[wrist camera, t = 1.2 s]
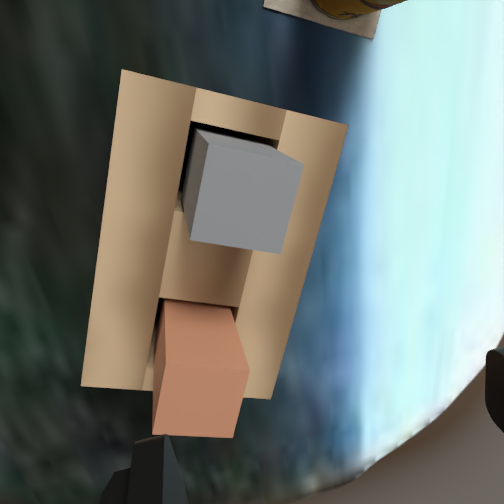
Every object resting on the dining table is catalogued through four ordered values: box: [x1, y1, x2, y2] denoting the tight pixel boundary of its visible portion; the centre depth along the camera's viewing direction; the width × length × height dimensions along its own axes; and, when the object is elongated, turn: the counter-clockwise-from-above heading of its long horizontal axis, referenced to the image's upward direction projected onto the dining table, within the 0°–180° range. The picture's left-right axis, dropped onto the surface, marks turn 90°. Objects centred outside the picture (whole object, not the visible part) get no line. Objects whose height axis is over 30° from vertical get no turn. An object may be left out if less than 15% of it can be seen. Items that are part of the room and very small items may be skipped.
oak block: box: [81, 69, 349, 399], centre depth 30 cm, size 12×18×10 cm, turn 167°
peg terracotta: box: [152, 298, 250, 438], centre depth 25 cm, size 4×4×8 cm
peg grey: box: [181, 127, 304, 254], centre depth 22 cm, size 4×4×8 cm
